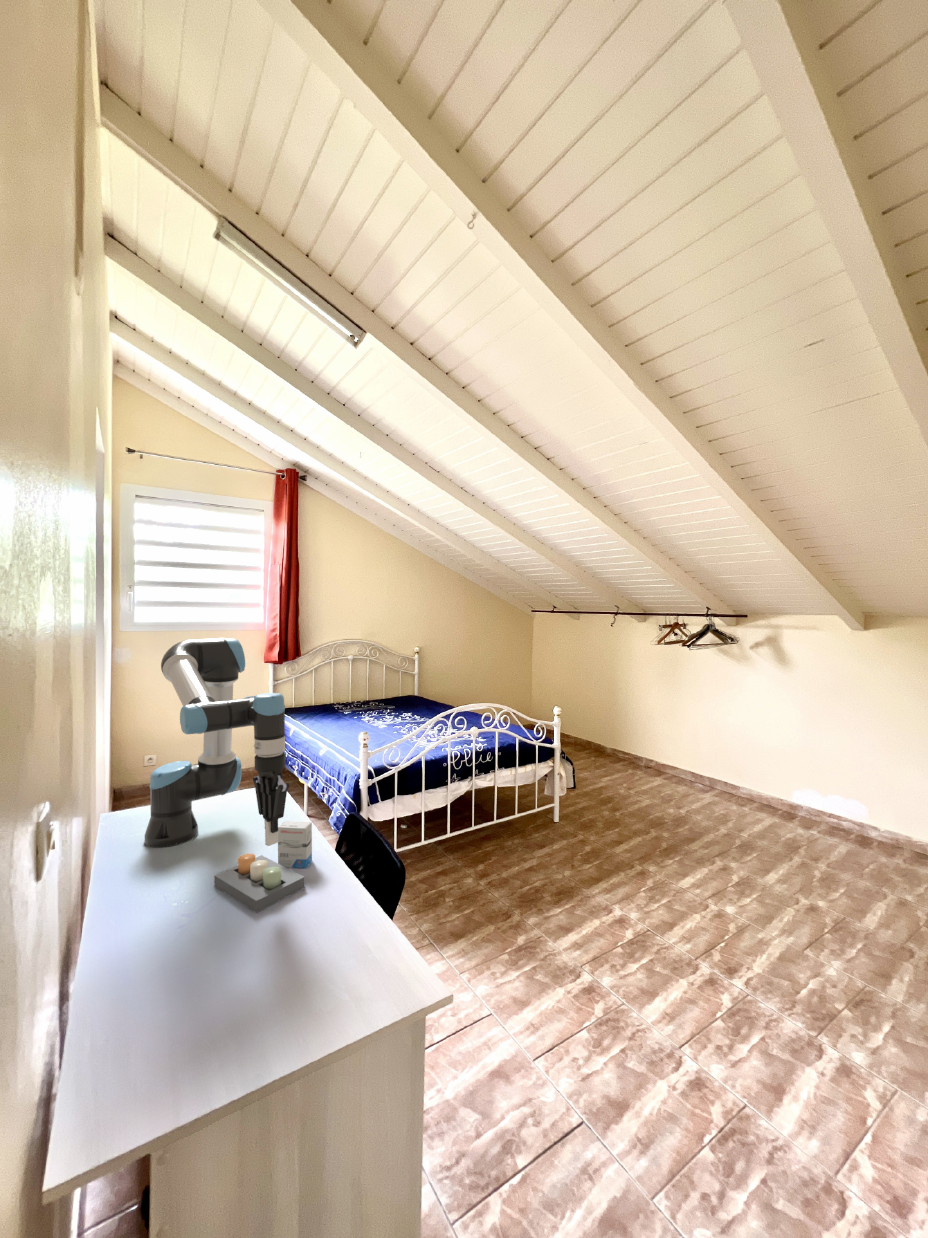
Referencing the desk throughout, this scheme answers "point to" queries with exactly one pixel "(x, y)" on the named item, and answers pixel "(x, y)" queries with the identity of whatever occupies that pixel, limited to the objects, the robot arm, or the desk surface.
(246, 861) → the orange button
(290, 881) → the panel
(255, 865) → the cream button
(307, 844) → the ink box
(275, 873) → the green button
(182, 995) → the desk surface
